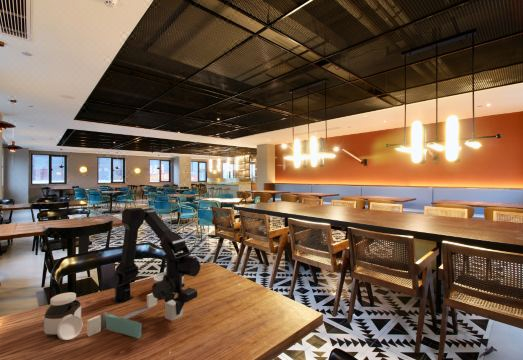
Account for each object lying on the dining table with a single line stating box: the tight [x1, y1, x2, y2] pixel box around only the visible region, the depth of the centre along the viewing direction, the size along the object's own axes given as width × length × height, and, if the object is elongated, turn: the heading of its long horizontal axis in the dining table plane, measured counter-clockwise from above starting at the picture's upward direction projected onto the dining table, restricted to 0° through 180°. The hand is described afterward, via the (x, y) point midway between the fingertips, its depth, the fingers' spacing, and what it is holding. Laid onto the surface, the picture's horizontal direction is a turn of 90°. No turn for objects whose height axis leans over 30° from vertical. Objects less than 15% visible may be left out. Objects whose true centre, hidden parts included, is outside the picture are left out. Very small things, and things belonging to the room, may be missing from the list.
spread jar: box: [43, 291, 83, 341], centre depth 87 cm, size 12×11×12 cm
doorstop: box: [164, 300, 184, 322], centre depth 98 cm, size 4×5×6 cm
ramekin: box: [152, 271, 185, 284], centre depth 120 cm, size 13×13×7 cm
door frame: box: [86, 292, 158, 337], centre depth 96 cm, size 2×26×5 cm, turn 149°
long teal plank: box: [105, 313, 142, 339], centre depth 86 cm, size 14×1×4 cm, turn 68°
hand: (174, 313), depth 98 cm, fingers closed on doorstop, 4 cm apart
